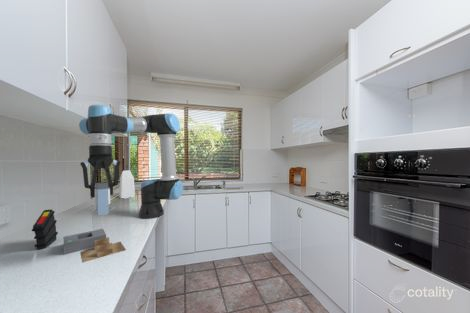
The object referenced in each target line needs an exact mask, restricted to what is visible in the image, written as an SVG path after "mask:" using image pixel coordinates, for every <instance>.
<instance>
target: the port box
mask: <svg viewBox="0 0 470 313" xmlns="http://www.w3.org/2000/svg"><path fill="white" fill-rule="evenodd" d="M103 238H107V233H106V231H104V228H100V229H95V230H90V231H86V232H81V233H75V234H70V235H67V236H66V235H65V236H63V239H62V240H63V255H65V256H66V255H68V254H72V253H76V252H82V251H86V250H90V249H94V241H95V240H99V239H103Z"/></svg>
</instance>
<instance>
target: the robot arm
mask: <svg viewBox="0 0 470 313" xmlns="http://www.w3.org/2000/svg"><path fill="white" fill-rule="evenodd" d="M78 128H79V130H80V132H81V133H82V134H84V135H88V144H89V147H88V156H89V157H88V158H87V160H85V161H81V162H80V164H79V165H80V166H81V168H82V177H83V185H84V188H85V189H89V190H90V198H93V204H94V207H96V206H97V189H96V184H95V183H97V177H98V172H99V169H104V173H105V176H106V182H107V183H108V202H109V205H110V204H111V196H113V195H114V187H115V186H117V185H118V186H119V170H120V169H119V166H120V165H121V161H119V160H116V159H114V158H113V146H112V142H113V141H112V134H122V135H123V134H124V135H127V134H130V133H133V132H137V133H140V134H141V133H148V134H156V136H157V137H158V138H159V144H160V145H159V146H160V161H161V177H160V178H155V179H148V180H143V181H142V182H141V183H140V197H141V198H140V199H141V201H140V203H141V204H140V208H139V211H138V218H140V219H154V218H159V217H162V216H164V214H165V213H164V208H163V206H162V203H161V202H162V201H161V200H166V201H167V200H168V201H169V200H170V201H172V200H176V201H177V200H178V199H179V198H180V197H182V196H181V195H182V193H183V191H184V184H183V181H181V180H180V177H179V176H178V175H177V166H176V165H177V164H176V147H175V139H176V138H175V137H177V133H178V132H179V131H180V129H181V124H180V120H179V119H178V117H177V115H176V114H174V113H167V112H166V113H158V114H157V113H156V114H150V115H149V114H147V115H143V116H136V117H129V118H128V117H125V116H122V115H117V114H113V113H112V111H111V108H110V107H109V106H107V105H102V104H101V105H100V104H91V105H89V106H88V109H87V117H86V118H82V119H81V120H80V121H79V123H78ZM89 164H90V165H91V167H92V169H93V171H92V175H91V181H90V184H89V175H88V173H89V172H88V168H87V167H88V166H89ZM111 164H113V166H114V167H113V180H112V175H111V171H110V166H111Z"/></svg>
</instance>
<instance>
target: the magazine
mask: <svg viewBox="0 0 470 313" xmlns="http://www.w3.org/2000/svg"><path fill="white" fill-rule="evenodd" d="M56 224H57V220H56V219H55V210H53V209H44V210H42V212H41V214H40V215H39V217H38V218H37V219H36V221H35V223H34V224H33V225H32V228H31V232H34V234H35V236H34V237H33V239H34V240H35V241H36V242H35V245H34V247H35V248H36V250H37V251H39V250H45V249H47V248H49V247H50V246H51V245H52V244H53V243H54V242H55V241H56V240H57V235H58V234H59V231H57V227H56Z"/></svg>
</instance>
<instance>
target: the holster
mask: <svg viewBox="0 0 470 313" xmlns="http://www.w3.org/2000/svg"><path fill="white" fill-rule="evenodd" d="M125 251H127V248H125V246H124V245H123V244H122V241H117V242H115V243H113V242H110V237H106V238H103V239H99V240H95V241H94V247H93V248H89V249H85V250H81V251H79V252H80V258H81V262H82V263H85V262H89V261H93V260H96V259H101V258H103V257H107V256H110V255H111V256H112V255H113V254H118V253H120V252H121V253H122V252H125Z"/></svg>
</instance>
